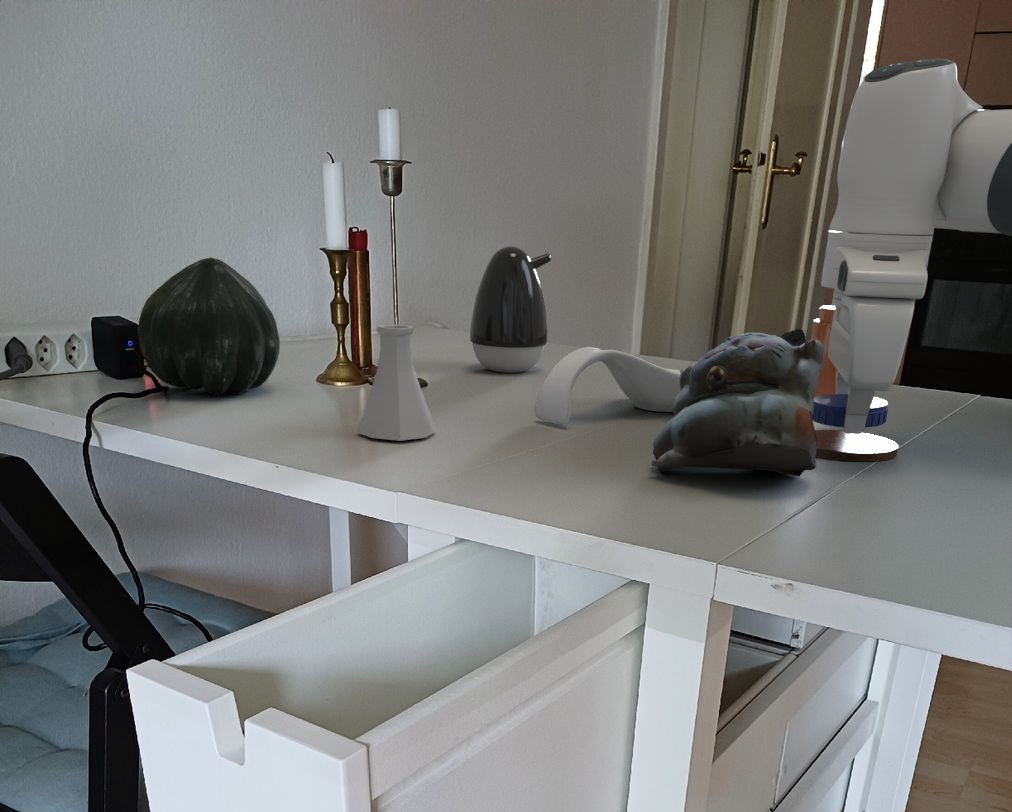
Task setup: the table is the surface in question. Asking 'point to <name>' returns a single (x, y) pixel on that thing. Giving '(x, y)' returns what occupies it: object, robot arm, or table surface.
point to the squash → (209, 330)
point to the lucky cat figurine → (746, 407)
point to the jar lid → (835, 405)
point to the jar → (822, 334)
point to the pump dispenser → (510, 312)
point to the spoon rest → (631, 373)
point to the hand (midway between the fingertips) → (847, 423)
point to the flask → (396, 392)
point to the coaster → (854, 446)
